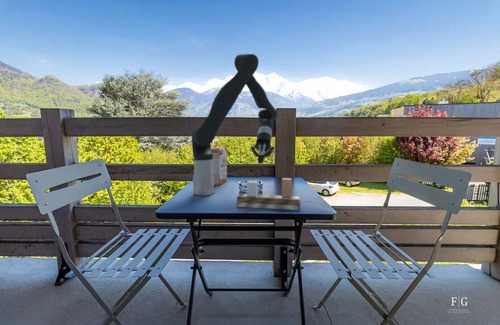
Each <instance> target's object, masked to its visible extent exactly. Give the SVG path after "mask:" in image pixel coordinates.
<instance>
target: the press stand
mask: <svg viewBox="0 0 500 325" xmlns="http://www.w3.org/2000/svg"><path fill="white" fill-rule="evenodd" d="M300 205H301V196H296V195H295V196H292V195H291V198H286V197H282V195H275V194H273V195H272V194H258V197H250V196H247V193H244V194H243V195H237V196H236V207H240V208H241V207H242V208H256V209H257V208H258V209H270V210H271V209H274V210H292V211H300Z"/></svg>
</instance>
